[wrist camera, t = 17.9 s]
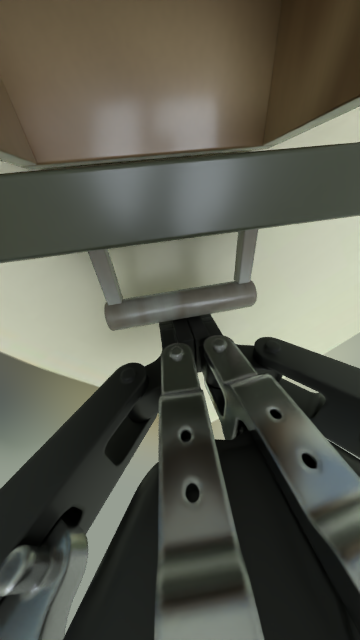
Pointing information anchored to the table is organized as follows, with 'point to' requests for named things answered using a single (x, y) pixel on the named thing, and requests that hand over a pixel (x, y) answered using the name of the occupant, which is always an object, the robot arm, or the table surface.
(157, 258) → the table surface
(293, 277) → the table surface
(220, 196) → the drawer
